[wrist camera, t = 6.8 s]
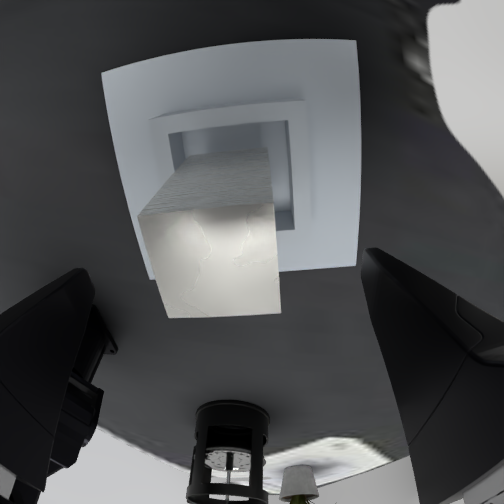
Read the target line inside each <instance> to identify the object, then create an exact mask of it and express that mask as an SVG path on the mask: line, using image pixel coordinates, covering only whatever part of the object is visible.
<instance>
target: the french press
mask: <svg viewBox="0 0 504 504" xmlns="http://www.w3.org/2000/svg"><path fill="white" fill-rule="evenodd" d="M196 420H197V422H196V429H195V439H196V440H197V445H196V446H194V450H193V457H192V465H191V472H190V480H189V486H188V487H187V493H186V499H187V502H188V503H190V504H268V492H266V491H265V490H263V466H264V465H265V464H266V461H265V459H264V456H263V447H265V446H266V445H267V443H268V425H269V423H270V417H269V415H268V413H267V412H266V411H265V410H264V409H262V408H261V407H259V406H256V405H254V404H251V403H247V402H242V401H234V400H221V401H213V402H209V403H206V404H204V405H202V406H201V407H200V408H199V409H198V410H197V412H196ZM218 425H231V426H240V427H246V428H249V429H250V430H246V431H226V430H222V429H219V428H216V427H214V426H218ZM212 469H214V470H219V471H226V472H227V484H224V483H210V482H211V472H212ZM246 471H250V476H249V486H244V485H236V484H230V473H231V472H246ZM209 494H217V495H226V499H225V500H218V499H212V498H209ZM229 495H231V496H241V497H249V500H247V501H229Z"/></svg>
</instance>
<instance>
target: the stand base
mask: <svg viewBox="0 0 504 504" xmlns="http://www.w3.org/2000/svg"><path fill="white" fill-rule="evenodd" d="M101 74H102V81H103V88H104V95H105V101H106V107H107V112H108V118H109V123H110V129H111V134H112V139H113V144H114V149H115V153H116V158H117V162H118V167H119V171H120V175H121V180H122V184H123V188H124V192H125V196H126V200H127V204H128V207H129V211H130V215H131V219H132V222H133V226H134V229H135V233H136V236H137V240H138V243H139V246H140V250H141V253H142V256H143V260H144V263H145V266H146V269H147V272H148V275H149V278H150V280H152V279H155V276H154V273H153V270H152V266H151V263H150V260H149V256H148V253H147V250H146V246H145V243H144V239H143V236H142V232H141V229H140V225H139V221H138V218H137V216H138V215H139V213H140V212H141V211H142V210H143V208H144V207H145V206H146V205H147V203H148V202H149V201H150V200H151V199H152V197H153V196H154V195H155V194H156V193H157V191H158V190H159V189H160V188H161V187H162V186H163V184H164V183H165V182H166V181H167V180H168V179H169V177H170V176H171V175H172V174H173V173H174V172H175V171H176V170H177V168H178V167H179V166H180V165H181V164H182V163H183V162H184V161H185V160H186V158H187V157H188V156H191V155H198V154H206V153H214V152H223V151H232V150H241V149H252V148H264V147H268V155H269V164H270V173H271V183H272V192H273V201H274V214H275V228H276V242H277V256H278V271H279V272H280V271H294V270H307V269H320V268H332V267H344V266H356V257H357V245H358V231H359V214H360V191H361V107H360V85H359V69H358V56H357V45H356V40H339V39H288V40H269V41H255V42H245V43H236V44H227V45H220V46H213V47H206V48H200V49H195V50H189V51H184V52H179V53H174V54H169V55H165V56H160V57H156V58H152V59H148V60H144V61H140V62H136V63H133V64H129V65H126V66H122V67H119V68H115V69H112V70H109V71H106V72H103V73H101Z"/></svg>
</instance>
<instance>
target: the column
mask: <svg viewBox="0 0 504 504" xmlns="http://www.w3.org/2000/svg"><path fill="white" fill-rule="evenodd" d="M137 218H138V221H139V225H140V229H141V232H142V236H143V239H144V243H145V246H146V250H147V253H148V256H149V260H150V263H151V266H152V270H153V273H154V276H155V279H156V282H157V285H158V288H159V291H160V294H161V297H162V300H163V303H164V306H165V309H166V312H167V315H168V318H200V317H226V316H246V315H263V314H274V313H281V304H280V287H279V271H278V256H277V242H276V228H275V214H274V201H273V192H272V183H271V173H270V164H269V155H268V147H264V148H252V149H241V150H232V151H223V152H214V153H206V154H198V155H191V156H188V157H187V158H186V160H185V161H184V162H183V163H182V164H181V165H180V166H179V167H178V168H177V170H176V171H175V172H174V173H173V174H172V175H171V176H170V177H169V179H168V180H167V181H166V182H165V183H164V184H163V186H162V187H161V188H160V189H159V190H158V191H157V193H156V194H155V195H154V196H153V197H152V199H151V200H150V201H149V202H148V203H147V205H146V206H145V207H144V208H143V210H142V211H141V212H140V213H139V215H138V216H137Z"/></svg>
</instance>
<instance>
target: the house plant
mask: <svg viewBox="0 0 504 504" xmlns="http://www.w3.org/2000/svg"><path fill="white" fill-rule="evenodd" d="M317 497H319V494H318V490H317V486H316V482H315V479H314V475H313V471H312V468H311V467H310V466H306V465H298V466H291V467H288V468H286V469H285V470H284V475H283V481H282V487H281V492H280V497H279V500H281V501H284V502H290V504H307V503H308V504H310V503H309V502H308V500H309V501H310V500H312V499H315V498H317ZM306 502H307V503H306ZM310 502H311V501H310Z"/></svg>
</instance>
